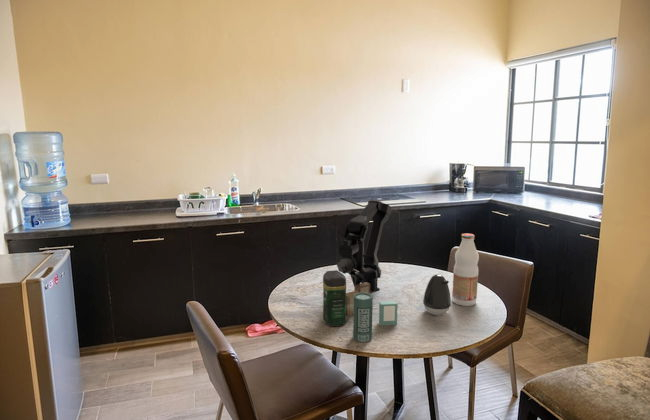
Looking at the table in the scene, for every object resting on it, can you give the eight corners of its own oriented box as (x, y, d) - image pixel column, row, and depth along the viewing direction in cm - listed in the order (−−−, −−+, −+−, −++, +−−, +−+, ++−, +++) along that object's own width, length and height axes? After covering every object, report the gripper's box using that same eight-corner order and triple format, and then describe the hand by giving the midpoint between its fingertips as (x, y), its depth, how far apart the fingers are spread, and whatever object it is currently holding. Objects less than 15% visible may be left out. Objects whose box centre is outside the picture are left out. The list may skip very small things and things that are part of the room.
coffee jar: (348, 326, 159) (348, 276, 156) (326, 328, 158) (326, 278, 154) (341, 314, 169) (341, 267, 165) (321, 316, 167) (320, 269, 163)
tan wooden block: (343, 313, 170) (343, 293, 168) (355, 310, 173) (356, 290, 171) (347, 316, 167) (347, 296, 166) (360, 312, 171) (360, 292, 169)
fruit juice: (456, 306, 175) (460, 238, 170) (448, 297, 185) (452, 231, 179) (479, 306, 176) (484, 237, 170) (471, 297, 185) (475, 231, 179)
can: (370, 333, 154) (371, 292, 151) (372, 342, 148) (373, 299, 145) (352, 333, 153) (353, 292, 150) (354, 342, 147) (354, 299, 145)
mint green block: (379, 322, 162) (379, 301, 161) (395, 321, 163) (395, 301, 161) (380, 325, 160) (381, 304, 158) (397, 324, 160) (397, 303, 159)
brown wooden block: (354, 303, 178) (354, 285, 177) (365, 300, 182) (366, 282, 180) (358, 306, 176) (358, 287, 175) (370, 302, 180) (370, 284, 178)
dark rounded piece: (435, 320, 163) (437, 281, 160) (417, 310, 172) (418, 272, 169) (456, 315, 168) (458, 276, 165) (437, 305, 177) (439, 268, 174)
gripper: (327, 249, 182) (327, 285, 185) (354, 261, 166) (354, 300, 169) (349, 245, 187) (348, 280, 191) (377, 256, 172) (376, 294, 175)
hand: (356, 288), depth 181 cm, fingers closed
